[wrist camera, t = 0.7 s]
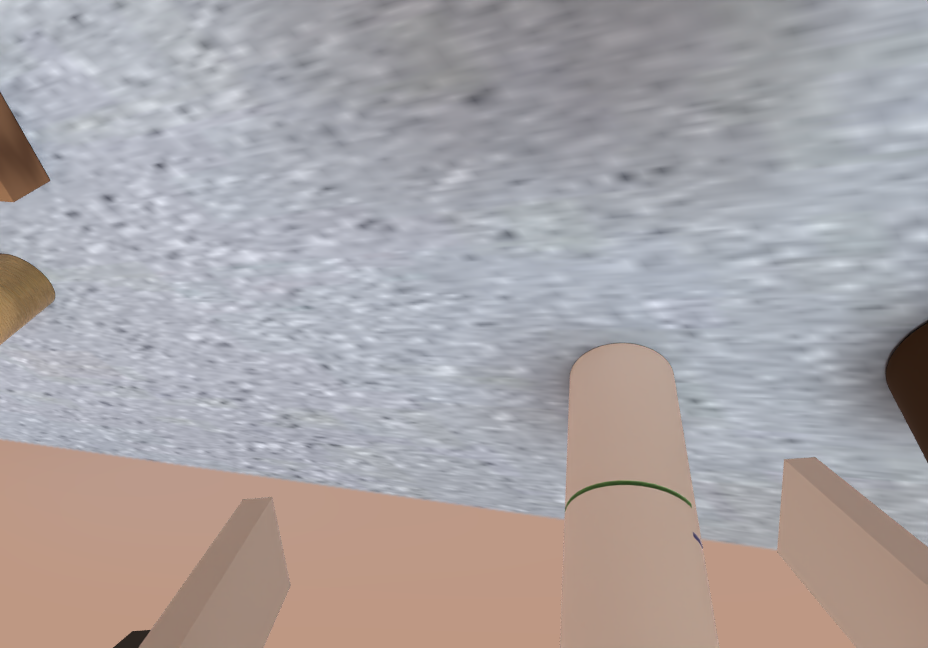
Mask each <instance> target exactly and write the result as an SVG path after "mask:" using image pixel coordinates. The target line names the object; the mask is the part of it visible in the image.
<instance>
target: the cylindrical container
mask: <svg viewBox="0 0 928 648" xmlns="http://www.w3.org/2000/svg"><path fill="white" fill-rule="evenodd" d="M702 548H703V547H702V541H701V535H700V529H699V523H698V517H697V511H696V505H695V499H694V493H693V487H692V481H691V475H690V469H689V463H688V457H687V451H686V445H685V439H684V433H683V427H682V421H681V415H680V409H679V403H678V397H677V391H676V385H675V379H674V374H673V370H672V367H671V366H670V364H669V363H668V361H667V360H666V359H665V358H664V357H663V356H662V355H660V354H659V353H657V352H656V351H654V350H652V349H649V348H647V347H644V346H640V345H636V344H628V343H616V344H608V345H603V346H600V347H597V348H594V349H592V350H590V351H589V352H587V353H585V354H584V355H583V356H581V357H580V358H579V359H578V360H577V361H576V363H575V364H574V365H573V368H572V370H571V372H570V387H569V415H568V443H567V471H566V498H565V524H564V550H563V552H564V553H563V579H562V580H563V581H562V608H561V634H560V635H561V637H560V648H719V643H718V637H717V631H716V625H715V619H714V613H713V607H712V601H711V595H710V589H709V584H708V578H707V571H706V565H705V559H704V553H703V550H702Z"/></svg>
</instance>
